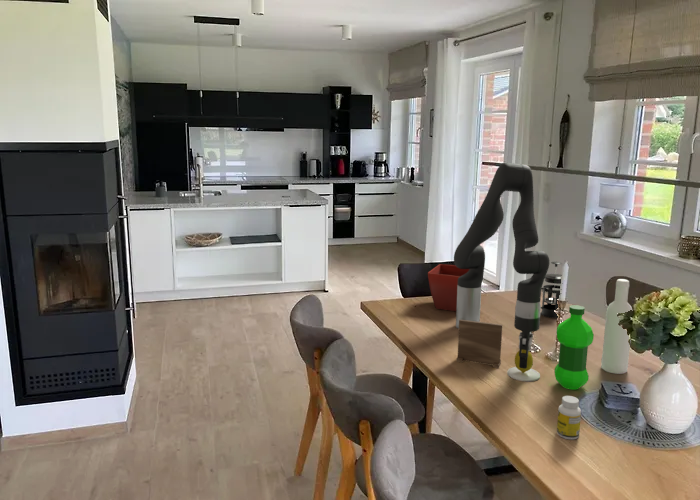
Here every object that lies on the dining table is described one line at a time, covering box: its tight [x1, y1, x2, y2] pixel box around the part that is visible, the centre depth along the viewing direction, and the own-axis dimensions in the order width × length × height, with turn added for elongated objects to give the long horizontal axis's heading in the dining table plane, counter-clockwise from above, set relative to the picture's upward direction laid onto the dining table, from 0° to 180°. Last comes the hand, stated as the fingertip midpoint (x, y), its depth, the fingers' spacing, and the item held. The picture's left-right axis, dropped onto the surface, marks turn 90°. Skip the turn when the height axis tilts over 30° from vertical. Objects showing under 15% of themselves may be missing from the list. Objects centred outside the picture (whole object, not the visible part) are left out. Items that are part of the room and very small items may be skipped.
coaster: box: [506, 366, 541, 382], centre depth 181 cm, size 10×10×1 cm
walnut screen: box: [455, 319, 503, 369], centre depth 189 cm, size 5×14×14 cm, turn 68°
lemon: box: [514, 350, 534, 373], centre depth 180 cm, size 6×6×8 cm
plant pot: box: [427, 263, 469, 312], centre depth 250 cm, size 19×19×17 cm
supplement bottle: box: [556, 395, 582, 441], centre depth 144 cm, size 5×5×10 cm
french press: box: [540, 261, 563, 319], centre depth 239 cm, size 12×9×23 cm
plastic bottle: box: [554, 304, 594, 391], centre depth 170 cm, size 10×10×25 cm
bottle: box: [600, 278, 633, 375], centre depth 182 cm, size 8×8×30 cm
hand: (524, 362), depth 180 cm, fingers open, 8 cm apart
